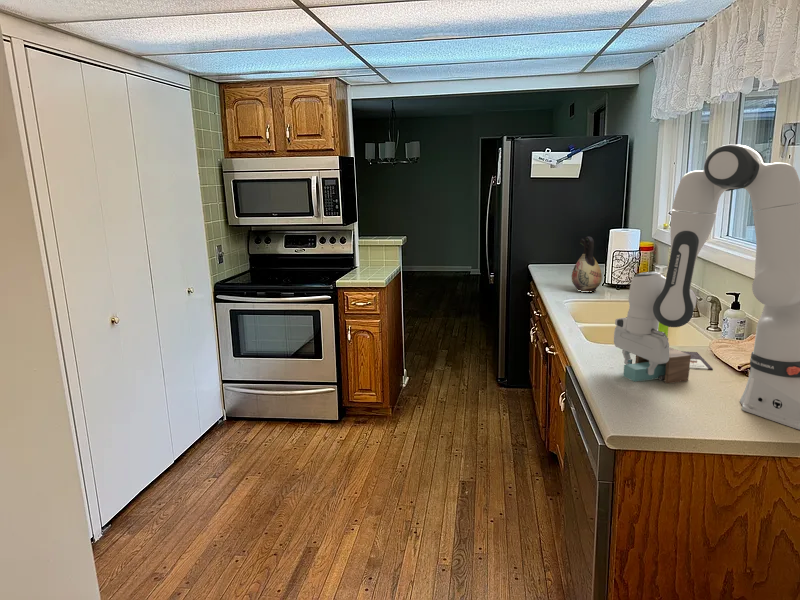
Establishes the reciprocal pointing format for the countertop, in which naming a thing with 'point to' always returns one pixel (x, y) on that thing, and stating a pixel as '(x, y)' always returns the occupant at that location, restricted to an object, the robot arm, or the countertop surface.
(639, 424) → the countertop surface
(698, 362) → the chocolate bar
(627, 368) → the case
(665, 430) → the countertop surface
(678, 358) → the shelf
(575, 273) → the ceramic jug
